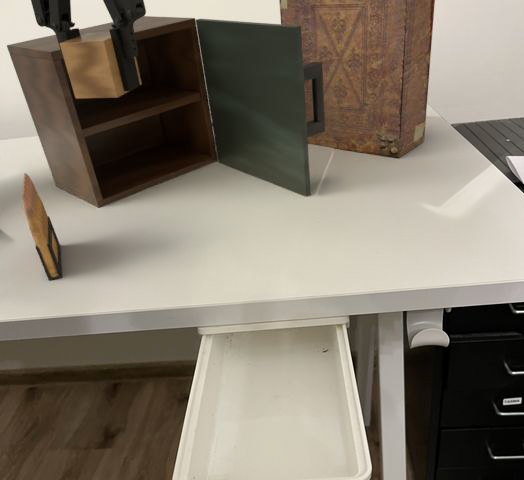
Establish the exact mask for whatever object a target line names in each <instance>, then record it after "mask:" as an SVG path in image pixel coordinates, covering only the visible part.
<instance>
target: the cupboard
mask: <svg viewBox="0 0 524 480" xmlns="http://www.w3.org/2000/svg"><path fill="white" fill-rule="evenodd" d="M196 20H197V19H196V18H195V17H175V16H152V15H151V16H149V15H147V16H146V15H145V16H143V17H141V18H139V19H137V20H136V21H135V22H134V24H133V28H134V33H135V38H136V42H137V47H138V56H136V60H137V65H138V69H139V74H140V78H141V83H142V84H141V85H140V86H138V87H136V88H134V89H132V90H131V91H129V92H127V93H125V94H123V95H121V96H120V97H118V98H75V95H74V91H73V88H72V84H71V81H70V77H69V74H68V71H67V67H66V64H65V60H64V59H63V57H62V54H61V50H60V47H59V43H58V40H57V37H56V34H51V35H47V36H43V37H38V38H33V39H29V40H24V41H19V42H16V43H11V44H7V45H6V47H7V51H8V53H9V57H10V60H11V62H12V65H13V68H14V71H15V73H16V77H17V79H18V83H19V85H20V88H21V90H22V91H21V92H22V93H23V96H24V99H25V102H26V105H27V107H28V110H29V113H30V116H31V119H32V122H33V125H34V128H35V130H36V133H37V136H38V139H39V142H40V144H41V148H42V151H43V153H44V156H45V159H46V162H47V164H48V167H49V171H50V173H51V176H52V179H53V181H54V185H55V187H57V188H59V189H61V190H63V191H65V192H67V193H69V194H71V195H73V196H74V197H77V198H78V199H80V200H83V201H84V202H87V203H88V204H90V205H92V206H94V207H96V208H98V209H101V208H102V207H105V206H107V205H110V204H113V203H115V202H117V201H120V200H123V199H125V198H128V197H131V196H132V195H135V194H138V193H141V192H143V191H145V190H148V189H150V188H153V187H156V186H159V185H161V184H163V183H166V182H169V181H171V180H173V179H176V178H178V177H180V176H183V175H186V174H189V173H191V172H194V171H196V170H198V169H201V168H203V167H206V166H208V165H211V164H215V163H217V162H218V156H217V150H216V144H215V137H214V131H213V125H212V119H211V112H210V106H209V100H208V94H207V87H206V81H205V75H204V68H203V62H202V56H201V50H200V43H199V37H198V31H197V25H196ZM113 24H114V22H113V21H112V22H111V21H110V22H106V23H103V24H98V25H93V26H89V27H84V28H79V32H80V35H84V34H87V33H98V32H110V31H109V30H110V29H112V26H111V25H113Z"/></svg>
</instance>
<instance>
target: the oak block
mask: <svg viewBox="0 0 524 480" xmlns="http://www.w3.org/2000/svg"><path fill="white" fill-rule="evenodd" d="M60 47H61V50H62V54H63V57H64V60H65V64H66V67H67V71H68V74H69V77H70V81H71V84H72V88H73V91H74V95H75V98H118V97H120V96H121V95H123V94H125V93H127V92H129V91H124V88H123V84H122V80H121V76H120V72H119V68H118V63H117V59H116V55H115V51H114V47H113V42H112V38H111V35H110V32H98V33H87V34H84V35H81V36H79V37H76V38H73V39H70V40H67V41H65V42H62V43H60ZM134 59H135V64H136V68H137V73H138V77H139V82H140V85H141V84H142V83H141V78H140V74H139V69H138V65H137V60H136V57H134ZM130 91H131V90H130Z"/></svg>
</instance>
